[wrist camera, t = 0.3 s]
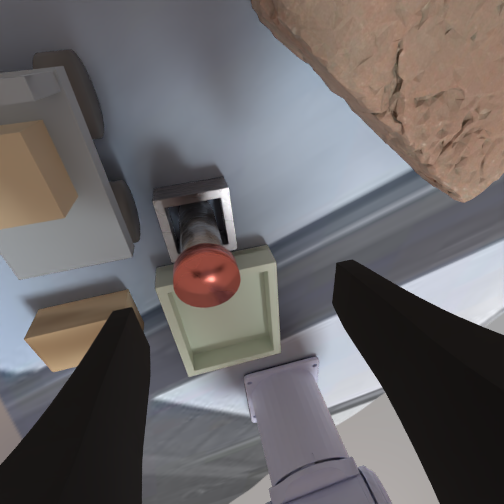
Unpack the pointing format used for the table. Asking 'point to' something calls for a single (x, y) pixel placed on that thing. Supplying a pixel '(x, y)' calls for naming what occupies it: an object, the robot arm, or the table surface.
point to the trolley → (57, 173)
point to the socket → (192, 194)
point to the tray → (227, 317)
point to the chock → (73, 328)
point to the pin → (203, 259)
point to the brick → (411, 77)
